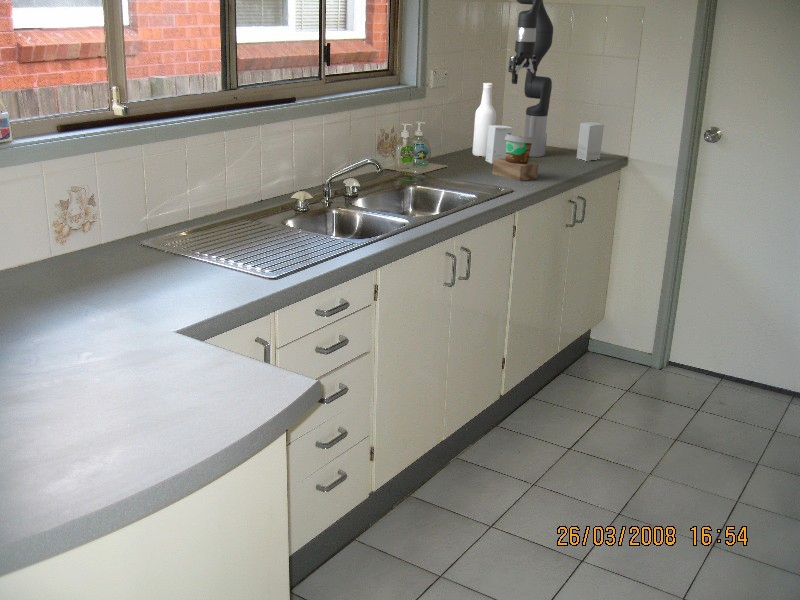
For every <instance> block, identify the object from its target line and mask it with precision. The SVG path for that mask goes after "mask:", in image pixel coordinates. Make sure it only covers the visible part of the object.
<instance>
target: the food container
mask: <svg viewBox="0 0 800 600" xmlns="http://www.w3.org/2000/svg"><path fill="white" fill-rule="evenodd" d="M505 140H506V161H508V162H512V163H520V164H528V161H529V160H530V156H529V154H530V150H531V145H532V143H533V137H524V136H521V135H511V133H507V135H506V137H505Z"/></svg>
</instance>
